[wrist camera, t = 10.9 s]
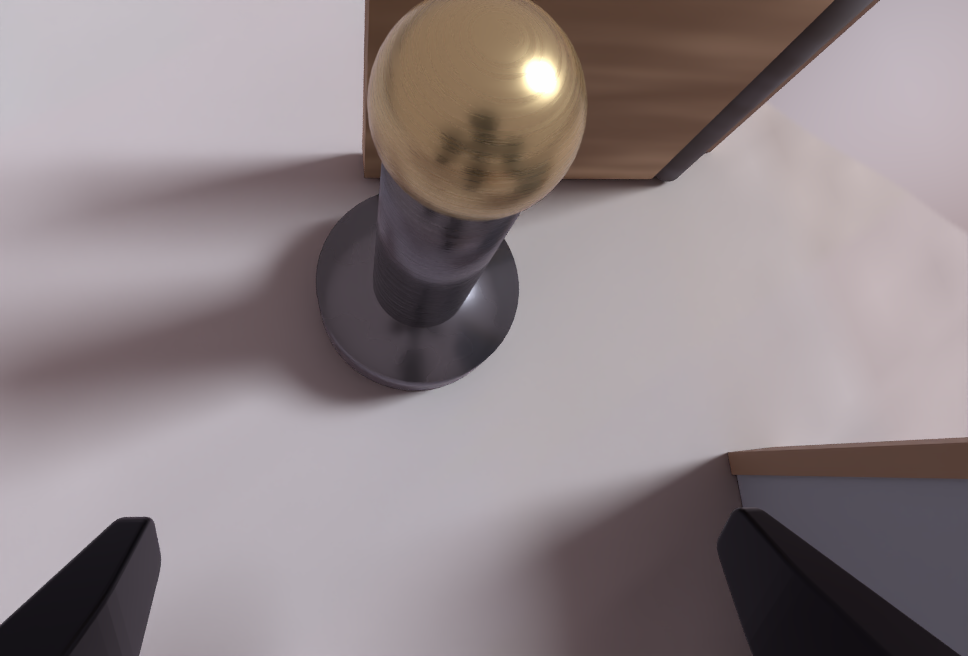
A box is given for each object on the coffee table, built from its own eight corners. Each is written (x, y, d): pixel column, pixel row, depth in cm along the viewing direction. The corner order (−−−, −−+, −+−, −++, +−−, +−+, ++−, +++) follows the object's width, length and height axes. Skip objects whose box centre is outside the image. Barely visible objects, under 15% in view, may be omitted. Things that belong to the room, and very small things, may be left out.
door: (683, 181, 23) (906, -14, 14) (364, 180, 21) (371, -66, 11) (677, 149, 24) (892, -63, 14) (362, 144, 21) (367, -126, 11)
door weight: (469, 418, 20) (654, 331, 7) (288, 348, 19) (158, 125, 7) (527, 255, 22) (752, -32, 9) (363, 186, 21) (371, -223, 9)
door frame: (849, 813, 19) (1238, 1085, 11) (798, 828, 19) (1162, 1125, 10) (710, 135, 25) (898, -42, 16) (667, 133, 24) (838, -49, 16)
